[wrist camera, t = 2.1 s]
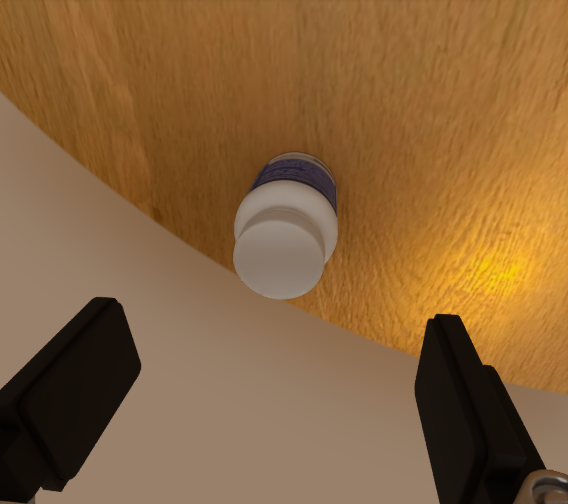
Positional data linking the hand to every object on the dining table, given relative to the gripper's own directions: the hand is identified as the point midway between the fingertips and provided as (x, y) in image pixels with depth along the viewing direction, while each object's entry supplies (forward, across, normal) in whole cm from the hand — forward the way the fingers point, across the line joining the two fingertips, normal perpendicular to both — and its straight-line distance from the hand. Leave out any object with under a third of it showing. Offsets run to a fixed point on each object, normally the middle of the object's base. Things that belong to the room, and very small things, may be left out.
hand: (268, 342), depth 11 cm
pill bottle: (+14, +1, 0) cm, 14 cm away
